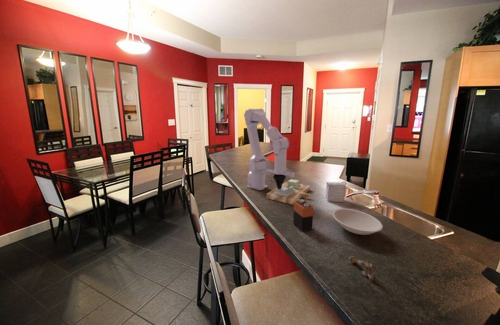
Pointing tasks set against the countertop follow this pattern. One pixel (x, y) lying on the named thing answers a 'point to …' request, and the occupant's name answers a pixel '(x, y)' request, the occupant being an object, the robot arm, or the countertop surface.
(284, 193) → the lid
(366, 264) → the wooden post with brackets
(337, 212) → the dish
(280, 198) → the puzzle board
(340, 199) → the medicine box
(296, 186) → the block
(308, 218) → the battery
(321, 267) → the countertop surface
